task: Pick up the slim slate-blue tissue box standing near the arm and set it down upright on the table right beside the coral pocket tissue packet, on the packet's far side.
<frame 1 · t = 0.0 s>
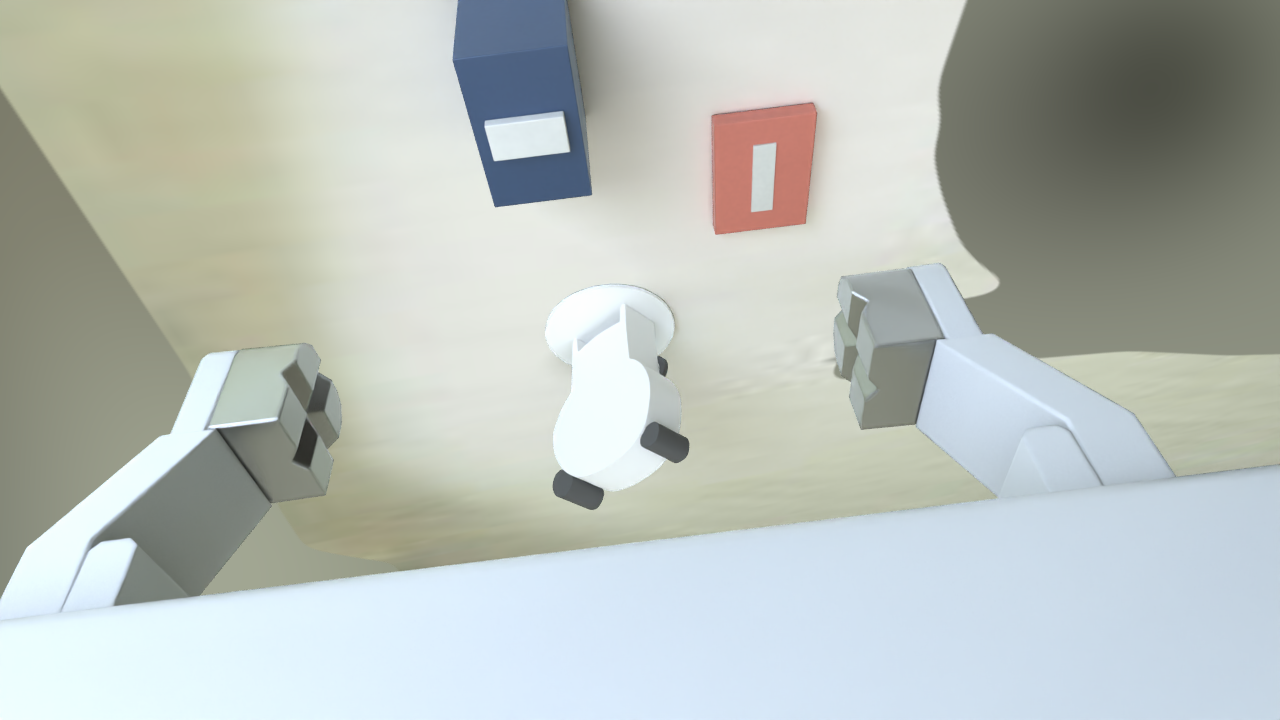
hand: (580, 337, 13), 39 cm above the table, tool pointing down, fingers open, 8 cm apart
tissue packet: (759, 167, 59), on the table
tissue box: (527, 55, 51), on the table
panda figurine: (607, 329, 72), on the table
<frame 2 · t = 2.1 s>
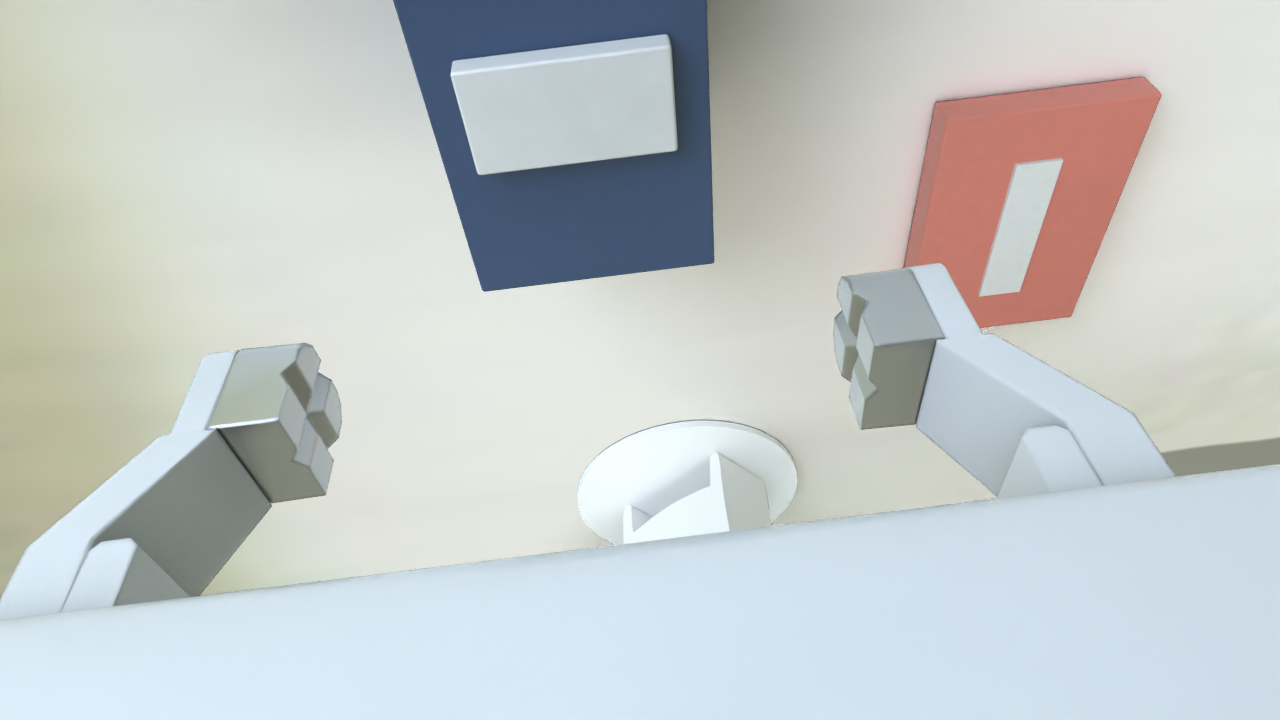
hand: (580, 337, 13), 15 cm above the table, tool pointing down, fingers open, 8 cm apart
tissue packet: (1003, 211, 31), on the table
panda figurine: (681, 490, 42), on the table
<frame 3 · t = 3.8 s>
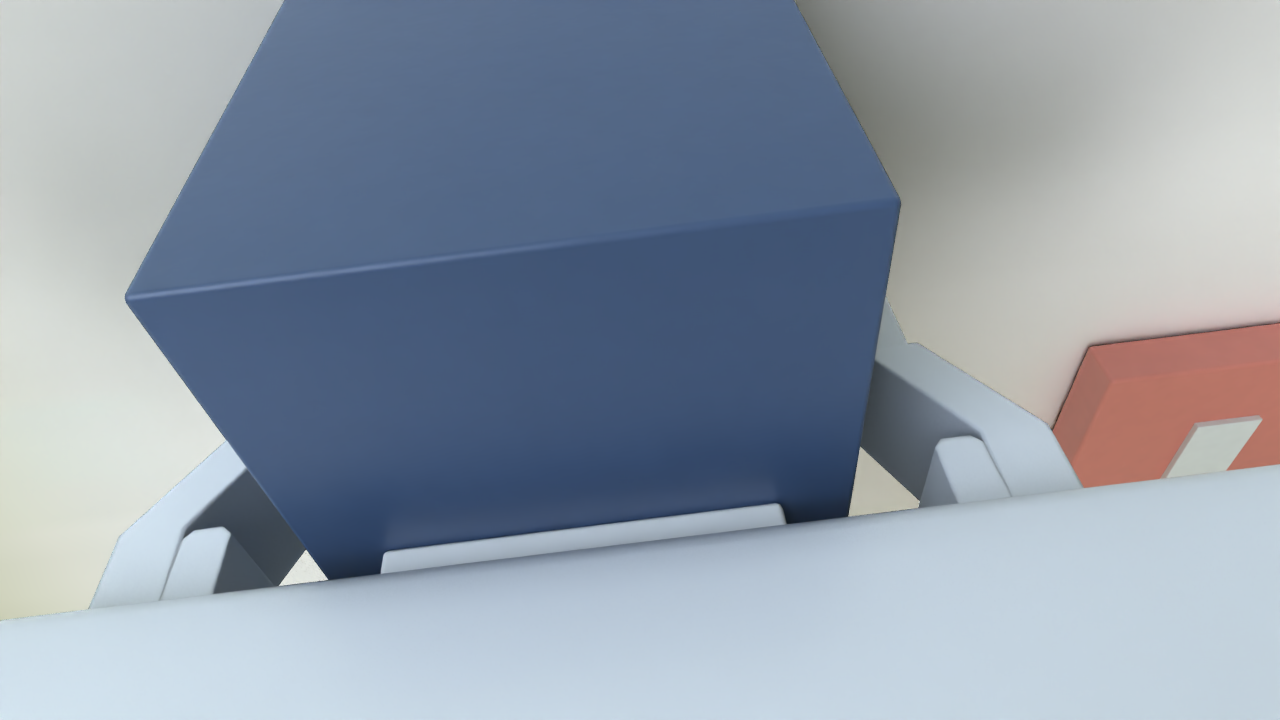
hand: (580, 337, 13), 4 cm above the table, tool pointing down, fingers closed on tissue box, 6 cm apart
tissue packet: (1157, 454, 23), on the table
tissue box: (575, 196, 15), on the table, touching gripper
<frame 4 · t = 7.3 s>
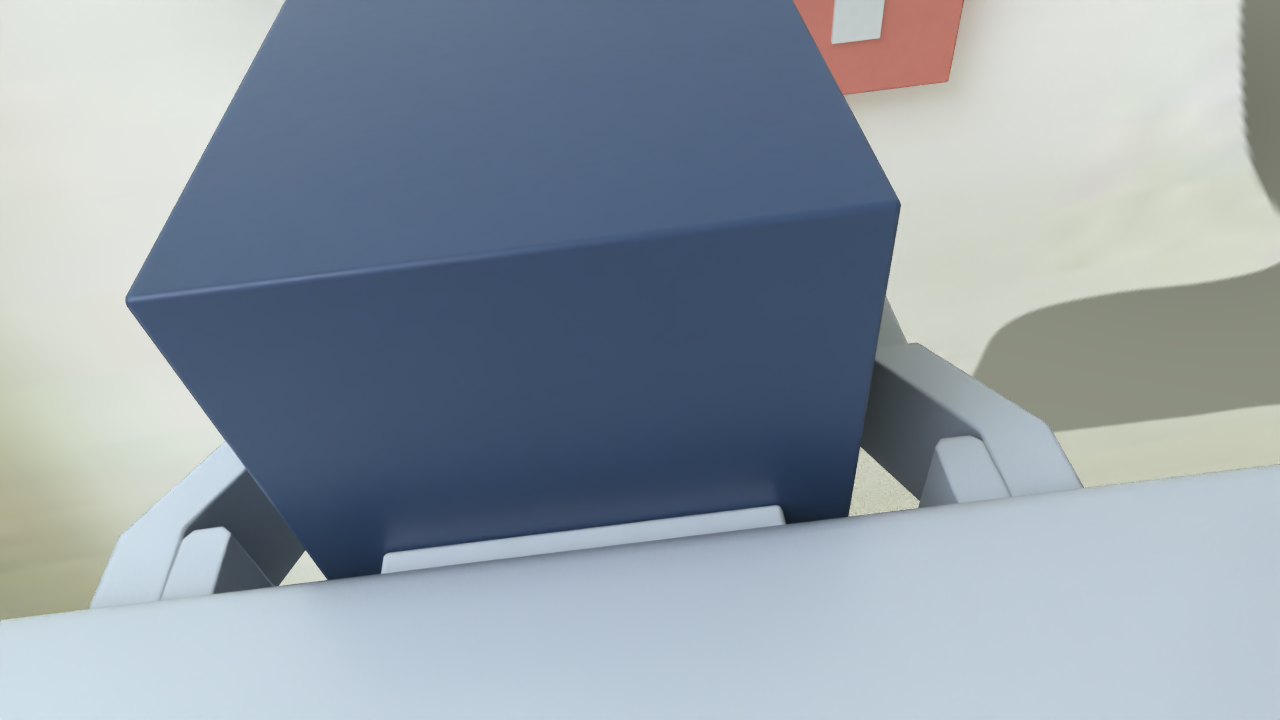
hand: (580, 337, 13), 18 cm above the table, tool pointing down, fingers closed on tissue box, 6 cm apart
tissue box: (575, 197, 15), point 14 cm above the table, touching gripper
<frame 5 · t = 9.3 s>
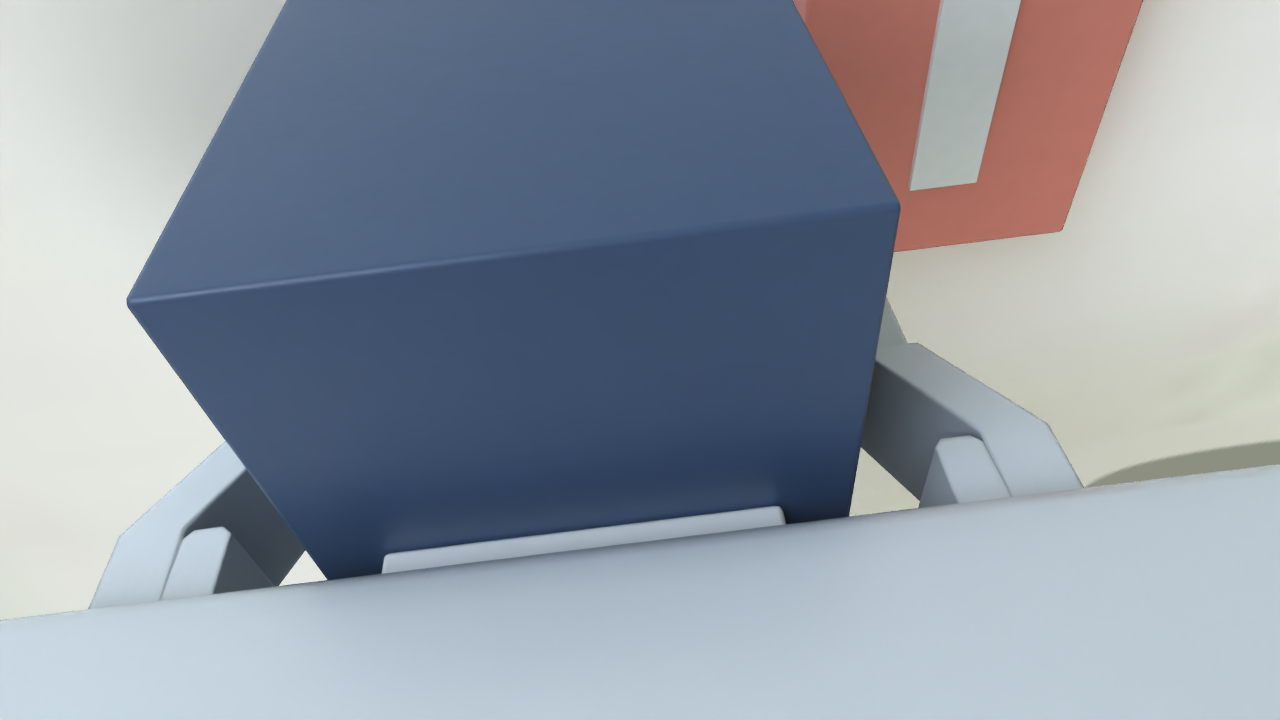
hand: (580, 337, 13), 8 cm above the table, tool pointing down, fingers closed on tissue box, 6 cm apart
tissue packet: (946, 39, 18), on the table
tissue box: (576, 197, 15), point 4 cm above the table, touching gripper
when the fingers open (4 cm above the table, at t = 10.9 s): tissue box stays where it is, on the table.
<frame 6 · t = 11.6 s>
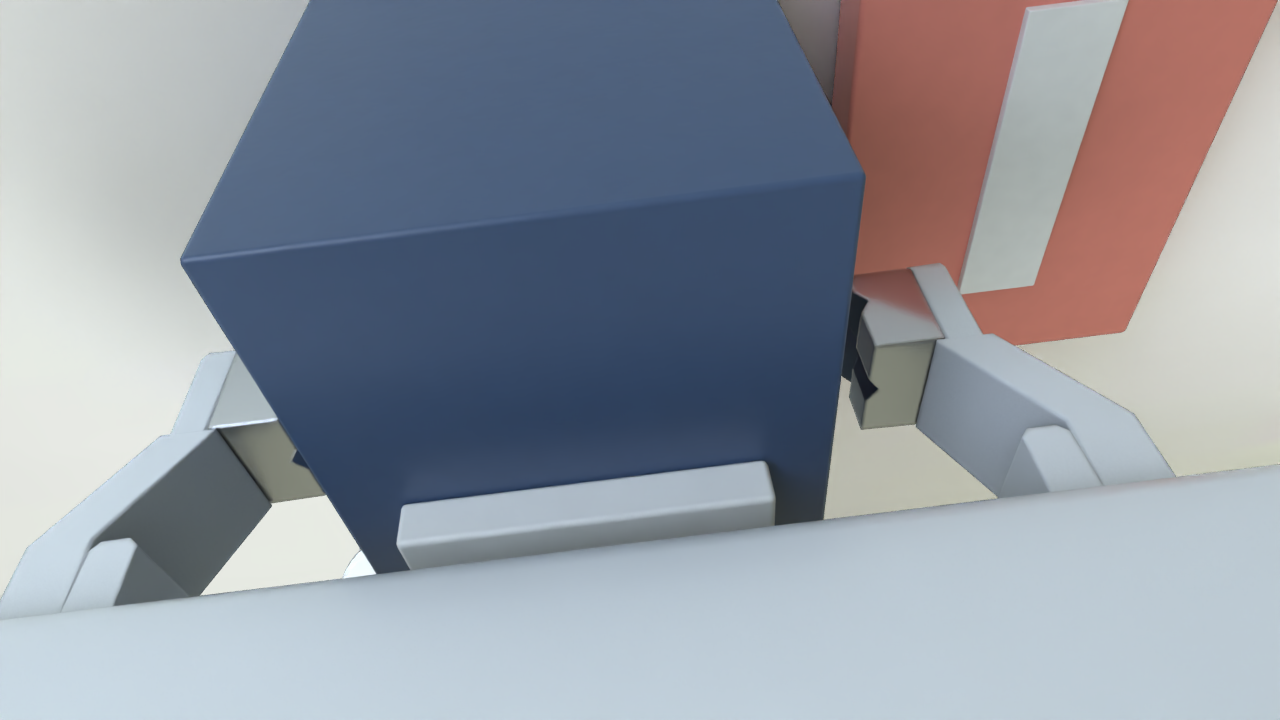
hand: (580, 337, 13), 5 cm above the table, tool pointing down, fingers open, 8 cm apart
tissue packet: (1003, 130, 16), on the table
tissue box: (577, 188, 16), on the table
panda figurine: (512, 598, 28), on the table
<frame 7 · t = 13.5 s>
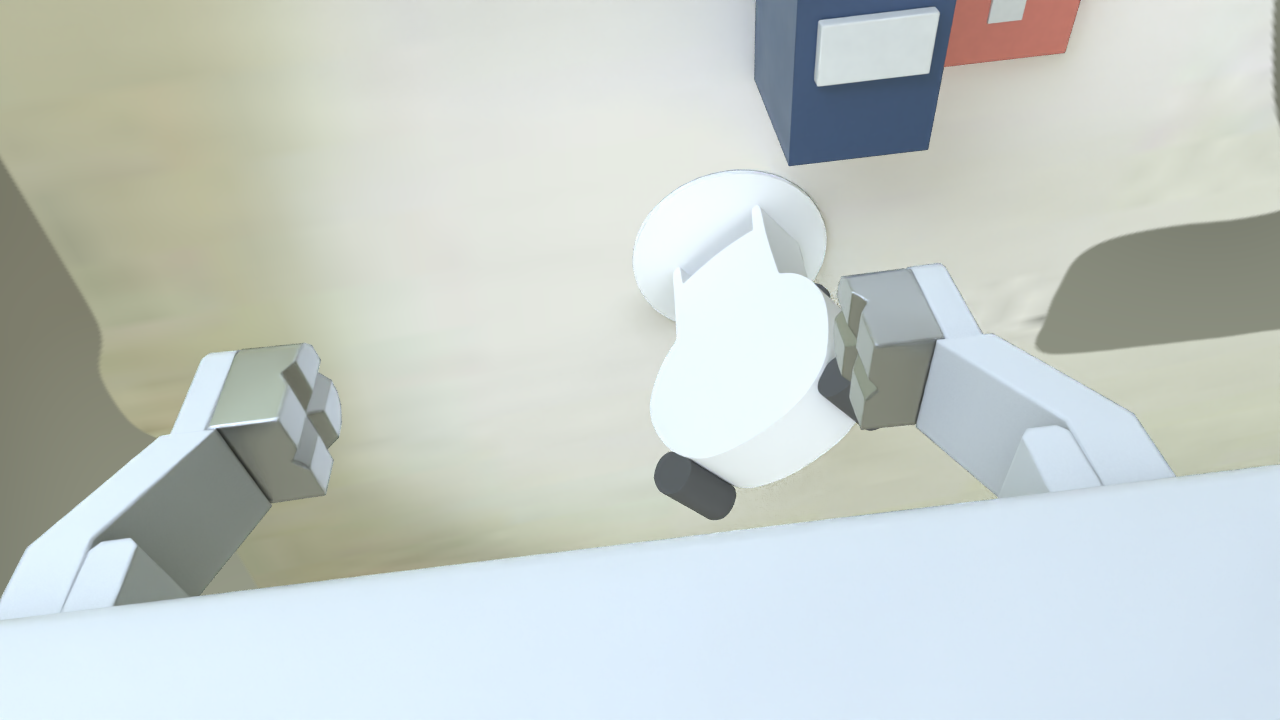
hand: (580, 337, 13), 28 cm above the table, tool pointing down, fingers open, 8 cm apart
panda figurine: (724, 255, 48), on the table
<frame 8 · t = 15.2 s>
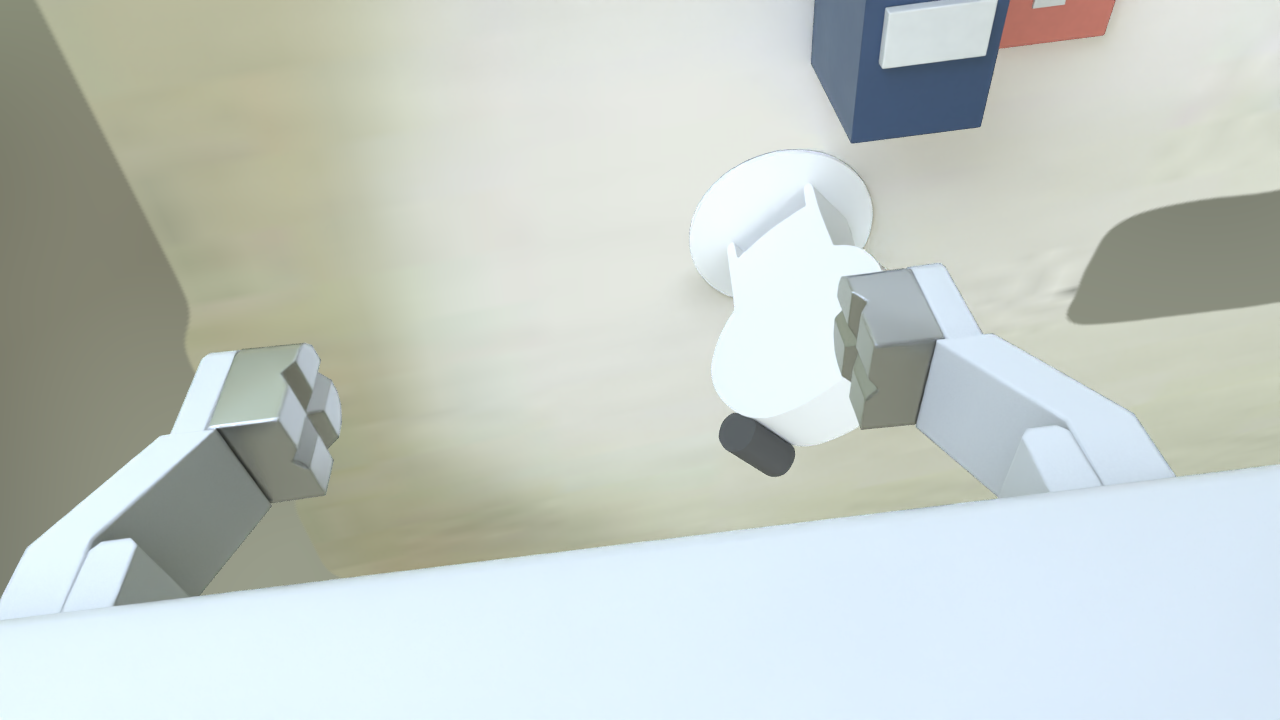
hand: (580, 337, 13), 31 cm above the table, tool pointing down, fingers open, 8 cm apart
panda figurine: (774, 231, 51), on the table
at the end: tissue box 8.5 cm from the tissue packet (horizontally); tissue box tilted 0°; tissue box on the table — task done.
